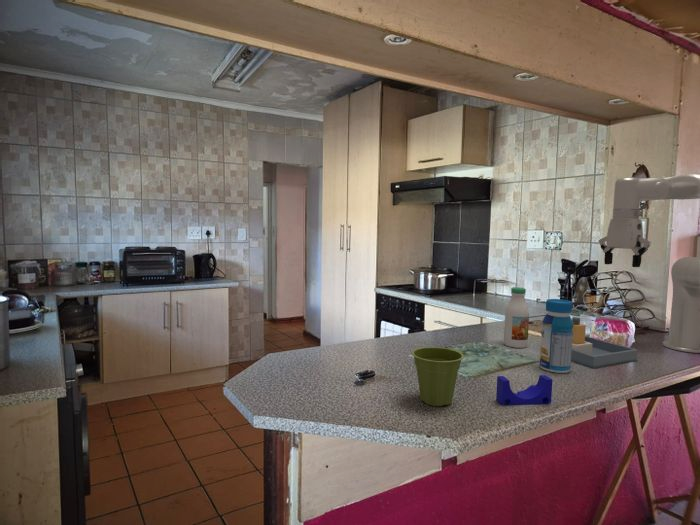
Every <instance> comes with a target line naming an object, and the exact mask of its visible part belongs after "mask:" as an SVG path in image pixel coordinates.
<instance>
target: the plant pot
mask: <svg viewBox="0 0 700 525" xmlns="http://www.w3.org/2000/svg"><path fill="white" fill-rule="evenodd" d="M411 355H412V356H413V359H414V364H415V368H416V373H417V374H416V375H417V381H418V389H419V390H418V391H419V395H420V400H421V402H424V403H425V404H426V405H428V406H434V407H442V406H445V405H446V406H449V405H451V404H452V402H453V399H454V393H455V388H456V384H457V377H458V373H459V369H460V368H461V363H462V360H463V359H464V357H465V356H464V354H463V353H462V352H461V351H459V350H457V349H453V348H447V347H440V346H439V347H436V346H429V347H428V346H426V347H420V348H419V347H418V348H415V349H413V350H412V351H411Z"/></svg>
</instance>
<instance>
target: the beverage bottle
mask: <svg viewBox="0 0 700 525" xmlns="http://www.w3.org/2000/svg"><path fill="white" fill-rule="evenodd" d="M545 311H546V312H547V313H546V314H545V315H544V317H543V319H542V322H541V324H542V327H541V331H540V334H541V335H540V336H541V339H540V352H539V353H540V354H539V356H540V357H539V367H540V368H541V369H542V370H543V371H546V372H551V373H557V374H566V373H569V372H570V371H571V370H572V365H571V362H572V361H571V353H572V340H573V336H574V335H573V331H572V328H573V327H574V325H573V321H572V317H571V316H570V315H571V314H572V311H573V302H572V301H571V300H568V299H561V298H560V299H559V298H549V299H547V300H546V301H545Z"/></svg>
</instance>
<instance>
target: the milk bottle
mask: <svg viewBox="0 0 700 525" xmlns="http://www.w3.org/2000/svg"><path fill="white" fill-rule="evenodd" d="M510 290H511V291H510V292H511V293H510V294H511V298H510V300H509V302H508V304H507V306H506V308H505V315H504V328H503V329H504V330H503V345H505V346H507V347H508V348H509V347H510V348H514V349H515V348H516V349H524V348H527V347H528V342H529V325H530V324H529V323H530V311H529V306H528V305H527V302H526V298H525V296H526V292H527V290H526V288H525V287H518V286H517V287H511V289H510Z"/></svg>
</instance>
